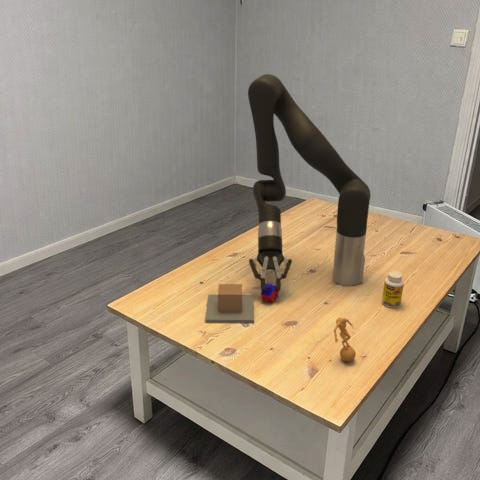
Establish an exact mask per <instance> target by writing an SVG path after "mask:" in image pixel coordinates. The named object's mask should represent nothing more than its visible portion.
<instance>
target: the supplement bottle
mask: <svg viewBox="0 0 480 480" xmlns="http://www.w3.org/2000/svg"><path fill="white" fill-rule="evenodd" d="M404 285H405V282H404V280H403V274H402V273H401V272H400V271H396V270H395V271H389V272H388V274H387V277H386V278H384V284H383V291H382V299H381V302H382V305H383V306H385V307H388V308H390V309H391V308H392V309H393V308H398V307H400V305H401V303H402V297H403V292H404V291H403V290H404Z"/></svg>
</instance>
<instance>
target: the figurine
mask: <svg viewBox="0 0 480 480" xmlns="http://www.w3.org/2000/svg"><path fill="white" fill-rule="evenodd" d="M335 323H336V325H335V327H334V329H333V333H334V341H335V343H338V342H339V339H338V338H337V329H339V331H340V332H339V336H340V337H341V339H342V341H341V344H342V348H341V349H340V350H339V356H340V358H341V360H342V361H343V362H346V363H349V362H352V361H354V360H355V358H356V356H357V355H356V350H355V349H354V347H352V346H351V345H350V344H349V343H348V341H349V340H350V339H351V338H352V337H351V335H350V334H349V331H348V329H347V328H346V327H347V323H348V325H350V326H351V327H352V329H353V330H355V328H354V325H353V324H352V323H351V321H350V320H349V319H347V318H345V317H344V318H343V317H338V318H337V319H336V321H335ZM345 344H346V345H345Z"/></svg>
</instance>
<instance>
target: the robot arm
mask: <svg viewBox="0 0 480 480" xmlns="http://www.w3.org/2000/svg"><path fill="white" fill-rule="evenodd" d="M247 98H248V102H249V106H250V112H251V117H252V121H253V127H254V129H253V130H254V134H255V137H254V138H255V144H256V145H255V146H256V150H255V151H256V168H257V172H258V173H259V174H260V175H262V176H266V177H271V178H272V179H262V180H261V179H259V180H257V181H256V182H255V183H253V186H252V193H253V197H254V199H255V202H256V207H257V211H258V230H257V247H258V248H257V256H256V257H254V258H250V259H249V260H248V264H249V267H250V269H251V272H252V274H253V277H254V278H255V279H257V280H259V281H260V290H261V291H262V290H263V292H265V283H266V273H267V271H269V270H271V271H274V274H275V285H276V292H278V293H279V292H280V291H281V289H282V280H284V279H286V278H287V275H288V273H289V271H290V268H291V266H292V263H293V260H292V258H289V259H288V258H286V257H285V256H284V254H283V230H282V219H281V218H282V216H281V215H282V214H281V212H282V211H281V209H280V208H279V206H277V205H272V204H269V202H281V201H282V200H284V199H285V198H286V194H287V190H286V189H287V188H286V185H285V182H284V180H283V177H282V172H281V168H280V149H279V148H280V147H279V144H278V138H277V135H276V130H275V125H274V123H275V122H274V116H276V117H277V119H278V120H279V121H280V122H281V125H282V126H283V129H284V131H285V134H286V136H287V138H288V140H289V142H290V144H291V145H292V147H293V148H294V150H295V151H296V152H297V154H298V155H299V156H300V158H302V159H303V161H305V163H307V164H308V165H309V166H310V167H312V168H313V169H315V170H316V172H319V173H321V175H323V176H325V177H326V178H327V180H328V181H329V182H330V183H331V184H332V185H333V187H334V188H335V190H336V191H337V192H338V194H339V196H338V199H337V200H338V202H337V211H336V214H337V215H336V234H335V243H334V244H335V247H334V255H333V256H334V257H333V268H332V280H333V282H334V283H336V284H338V285H341V286H347V287H348V286H351V287H352V286H356V285H358V284H363V279H364V278H363V277H364V271H365V262H366V261H365V260H366V256H365V255H364V254H365V246H366V238H367V237H366V236H367V229H368V217H369V209H370V202H371V190H370V188H369V186H368V184H367V183H366V182H365V181H363V179H362V178H360V176H358V175H357V173H355V172H354V171H353V170H352V169H351V168H350V167H349V166H348V164H346V162H345V161H344V159H343V158H342V157H341V156H340V154H339V152H338V151H337V150H336V149H335V148H334V146H333V145H332V144H331V143H330V141H329V140H328V139H327V137H326V136H325V135H324V134H323V132H322V131H321V130H320V128H318V127H317V125H315V123H314V122H313V121H312V120H311V119H310V118H309V116H307V114H306V113H305V112H304V111H303V110H302V109H301V108H300V107H299V105H298V104H297V103H296V101H295V100H294V99H293V97H292V95H291V94H290V92H289V91H288V89H287V88H286V86H285V85H284V83H283V82H282V80H281V79H280V78H279V77H277V76H275V75H273V74H271V73H270V74H269V73H267V74H262V75H260V76H258V77H257V78H255V80H253V81H252V82H251V83H250V84H249V87H248V90H247ZM257 263H258V264H259V265H260V267H261V273H259V272H258V268H257ZM282 263H284V270H283V273H281V270H280V266H281V265H282Z"/></svg>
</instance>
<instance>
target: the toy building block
mask: <svg viewBox="0 0 480 480" xmlns="http://www.w3.org/2000/svg"><path fill="white" fill-rule="evenodd" d="M279 295H280V293H279V292H276V284H271V283H269V282H265V292H263V290H261V292H260V297H261V299H262V301H263V302H265V301H266V302H268V303H275V300H276V297H277V298H278V297H279Z"/></svg>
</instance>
